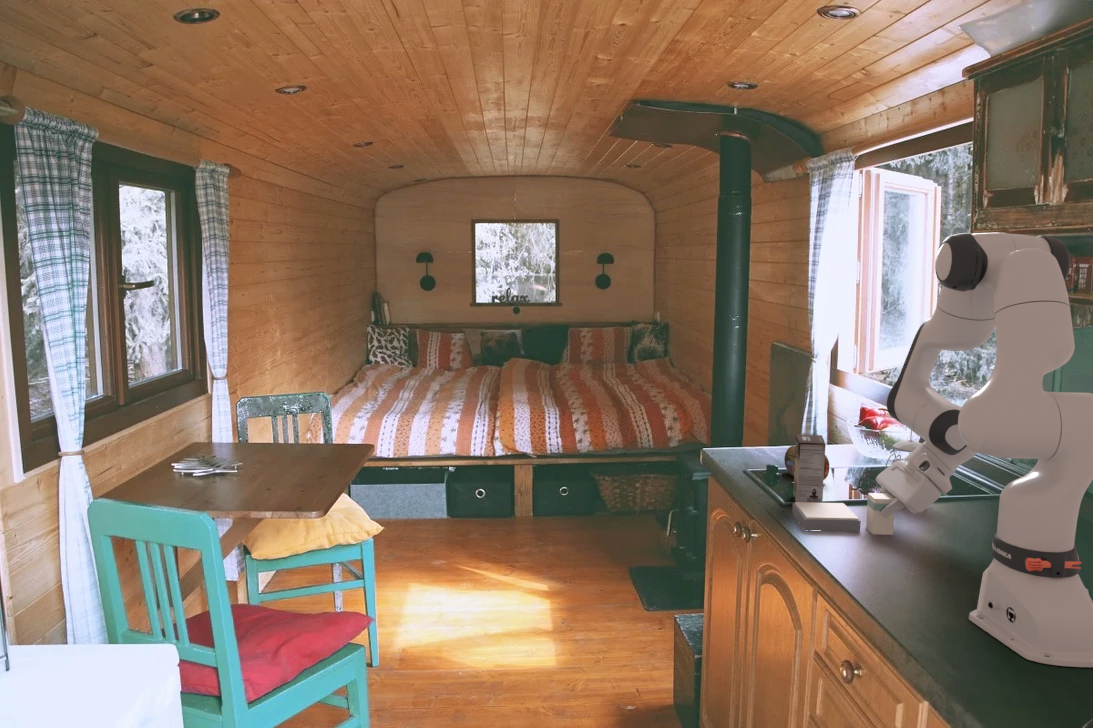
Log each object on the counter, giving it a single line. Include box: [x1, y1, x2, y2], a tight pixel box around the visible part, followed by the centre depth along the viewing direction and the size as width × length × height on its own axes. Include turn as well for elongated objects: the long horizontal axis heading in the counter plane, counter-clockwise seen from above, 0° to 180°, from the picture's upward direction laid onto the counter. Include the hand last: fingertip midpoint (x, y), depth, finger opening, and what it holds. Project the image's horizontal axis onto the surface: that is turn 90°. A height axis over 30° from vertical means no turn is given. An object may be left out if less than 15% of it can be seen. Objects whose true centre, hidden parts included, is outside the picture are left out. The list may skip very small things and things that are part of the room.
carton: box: [865, 492, 895, 536], centre depth 183 cm, size 4×4×8 cm
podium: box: [791, 501, 862, 533], centre depth 189 cm, size 12×12×3 cm
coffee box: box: [793, 434, 826, 503], centre depth 204 cm, size 9×6×16 cm
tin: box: [784, 445, 830, 481], centre depth 226 cm, size 15×3×8 cm, turn 25°
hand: (877, 510), depth 183 cm, fingers closed on carton, 4 cm apart
